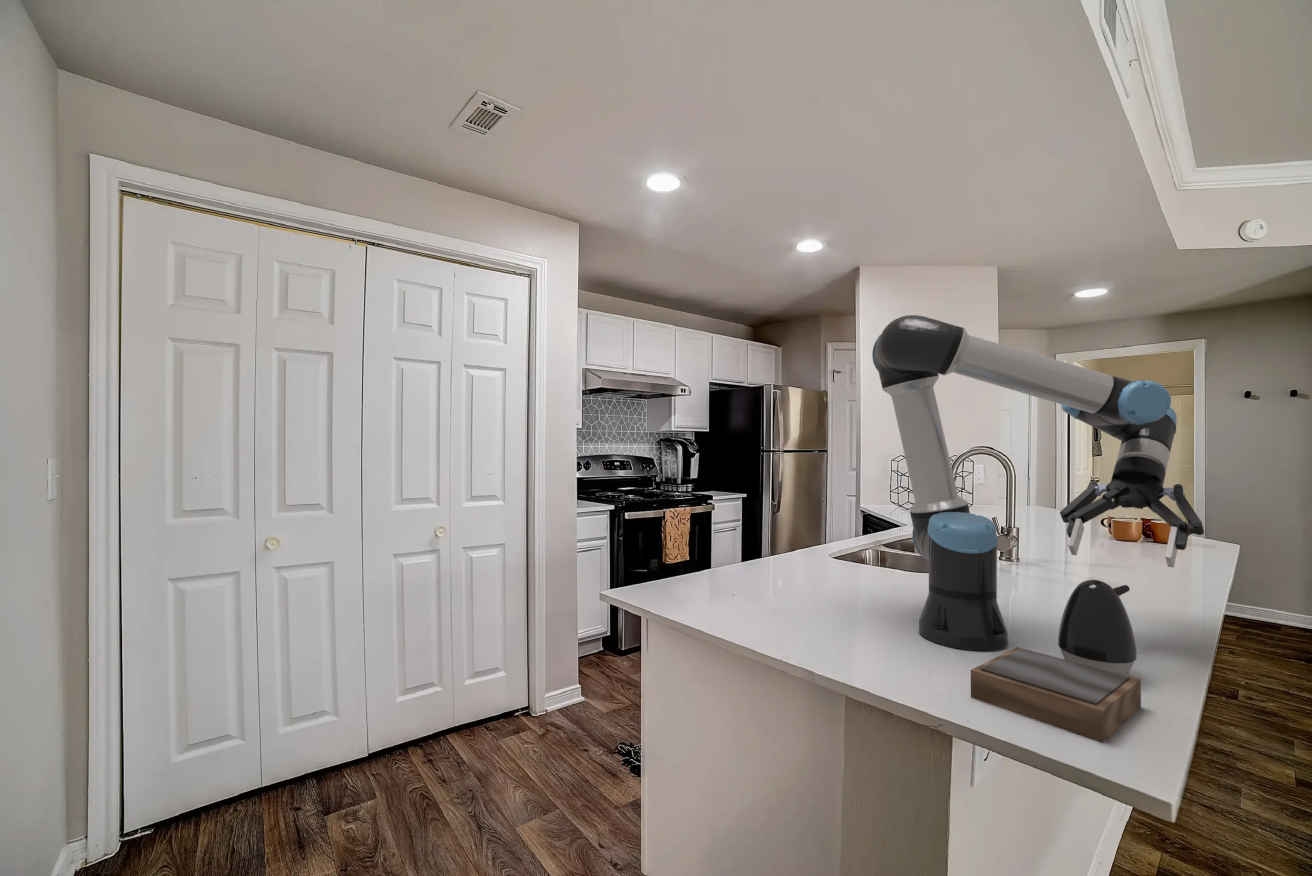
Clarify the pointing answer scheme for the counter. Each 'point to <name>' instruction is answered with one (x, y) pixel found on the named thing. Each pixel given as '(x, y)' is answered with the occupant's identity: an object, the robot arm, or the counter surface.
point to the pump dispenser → (1097, 628)
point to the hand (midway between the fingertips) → (1118, 556)
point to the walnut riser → (1058, 692)
